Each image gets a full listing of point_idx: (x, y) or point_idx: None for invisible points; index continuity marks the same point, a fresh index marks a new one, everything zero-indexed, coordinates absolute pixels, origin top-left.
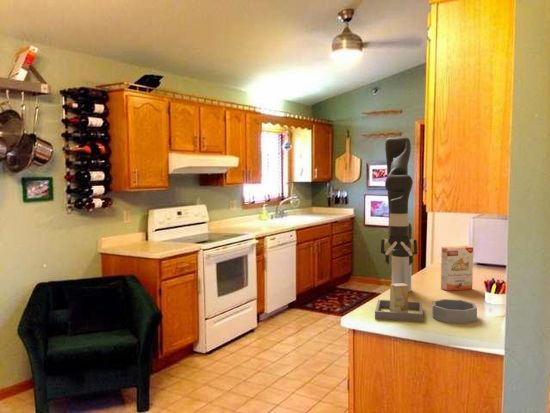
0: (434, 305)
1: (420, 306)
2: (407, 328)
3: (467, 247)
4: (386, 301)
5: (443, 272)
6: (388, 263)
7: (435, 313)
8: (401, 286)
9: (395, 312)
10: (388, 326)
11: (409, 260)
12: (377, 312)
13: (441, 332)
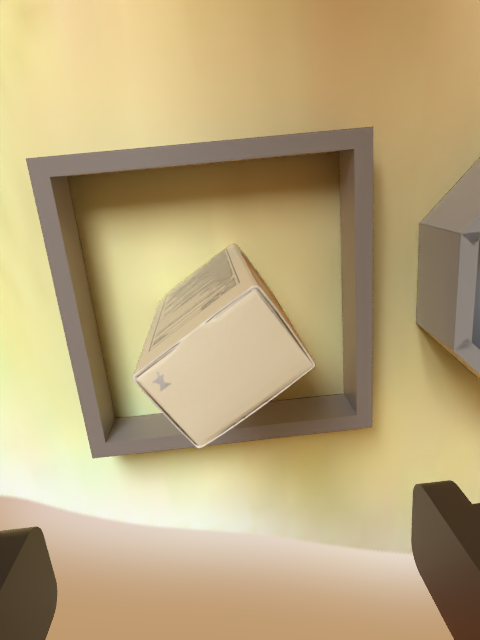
0: (463, 340)
1: (361, 260)
2: (287, 516)
3: None
4: (100, 171)
5: None
6: (44, 615)
7: (444, 346)
8: (251, 410)
9: (215, 441)
10: (197, 517)
11: (460, 635)
12: (109, 453)
13: None
